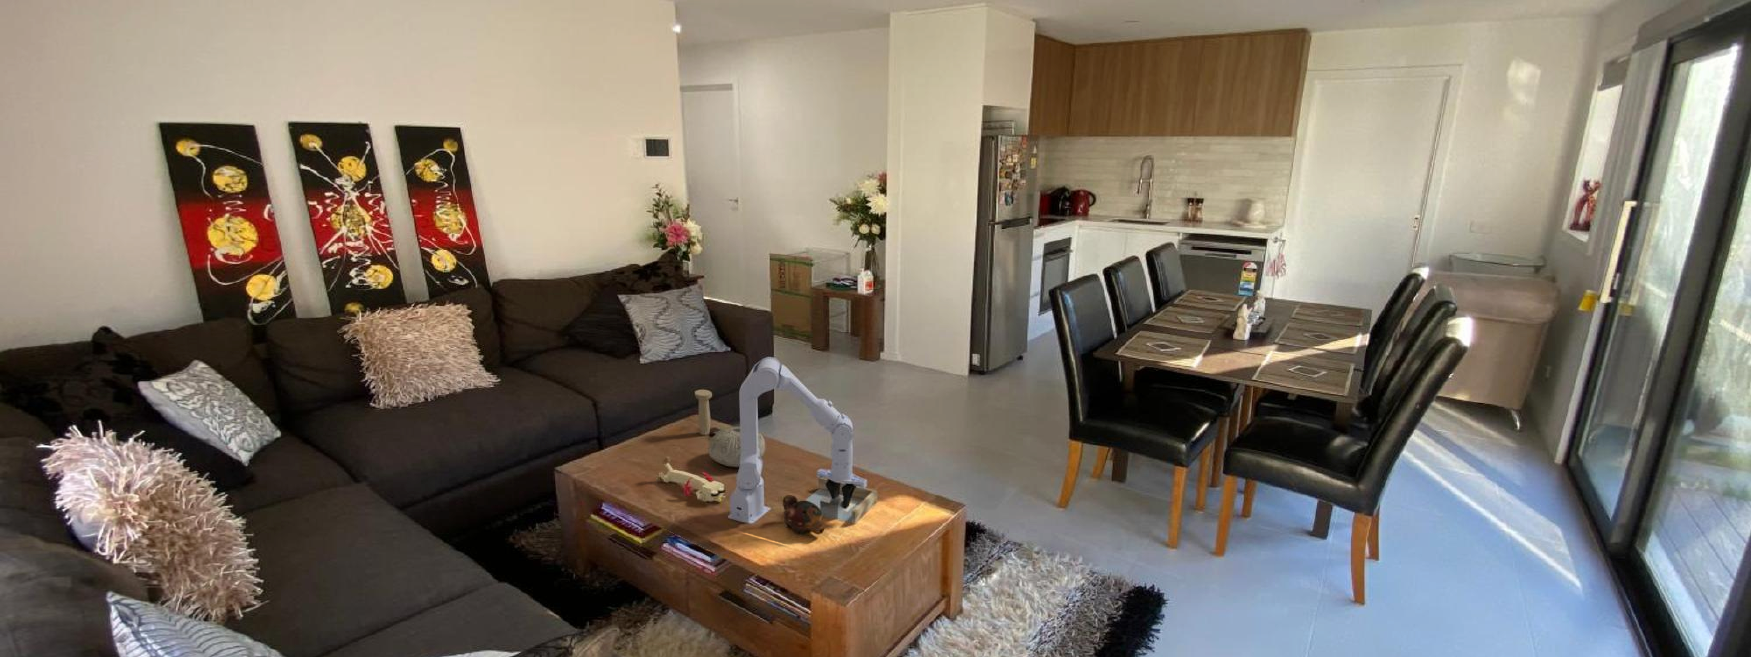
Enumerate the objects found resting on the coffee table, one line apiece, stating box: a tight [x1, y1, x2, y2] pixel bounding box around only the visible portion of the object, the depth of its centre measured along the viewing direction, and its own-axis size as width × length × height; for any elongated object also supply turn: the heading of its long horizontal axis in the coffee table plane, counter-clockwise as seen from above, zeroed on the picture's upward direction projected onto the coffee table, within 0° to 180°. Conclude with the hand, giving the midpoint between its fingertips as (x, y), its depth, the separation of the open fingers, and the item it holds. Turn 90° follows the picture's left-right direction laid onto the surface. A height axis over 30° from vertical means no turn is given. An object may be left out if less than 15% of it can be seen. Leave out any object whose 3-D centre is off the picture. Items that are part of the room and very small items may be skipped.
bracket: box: [820, 495, 847, 518], centre depth 208 cm, size 6×6×4 cm
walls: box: [818, 477, 878, 525], centre depth 212 cm, size 14×18×4 cm
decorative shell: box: [707, 426, 766, 468], centre depth 239 cm, size 18×18×10 cm
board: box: [804, 488, 863, 524], centre depth 212 cm, size 13×18×1 cm
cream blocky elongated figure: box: [657, 456, 726, 503], centre depth 219 cm, size 10×9×25 cm
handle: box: [694, 389, 713, 436], centre depth 258 cm, size 5×6×15 cm
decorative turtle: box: [782, 494, 826, 536], centre depth 200 cm, size 10×15×8 cm, turn 51°
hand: (841, 505), depth 209 cm, fingers closed on bracket, 2 cm apart
